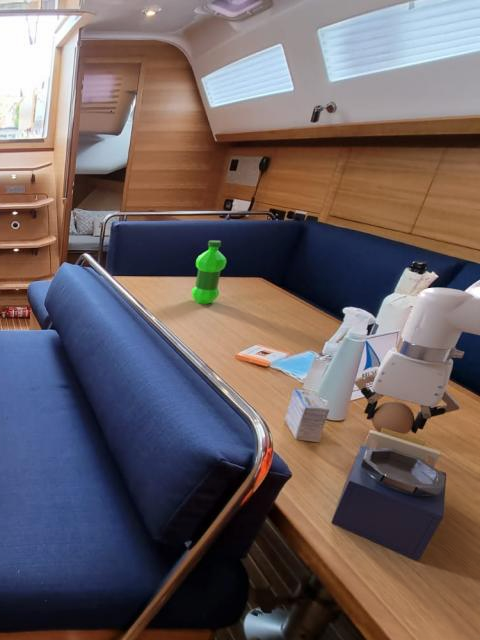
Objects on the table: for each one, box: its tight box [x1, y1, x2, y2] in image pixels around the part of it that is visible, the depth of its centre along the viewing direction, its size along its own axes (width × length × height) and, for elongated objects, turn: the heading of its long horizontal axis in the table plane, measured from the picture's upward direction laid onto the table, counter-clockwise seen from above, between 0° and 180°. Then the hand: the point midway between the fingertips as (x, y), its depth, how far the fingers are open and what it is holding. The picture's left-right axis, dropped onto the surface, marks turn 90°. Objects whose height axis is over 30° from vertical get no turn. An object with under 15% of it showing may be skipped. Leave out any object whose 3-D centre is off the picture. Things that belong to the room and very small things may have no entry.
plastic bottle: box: [191, 239, 228, 305], centre depth 167 cm, size 10×10×25 cm
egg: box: [370, 400, 416, 435], centre depth 90 cm, size 6×6×8 cm
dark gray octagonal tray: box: [361, 448, 445, 498], centre depth 68 cm, size 9×9×2 cm
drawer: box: [363, 428, 442, 468], centre depth 77 cm, size 17×9×8 cm, turn 133°
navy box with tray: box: [330, 444, 447, 562], centre depth 70 cm, size 13×11×10 cm
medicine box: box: [284, 389, 330, 443], centre depth 93 cm, size 8×4×9 cm, turn 160°
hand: (391, 422), depth 91 cm, fingers closed on egg, 6 cm apart
